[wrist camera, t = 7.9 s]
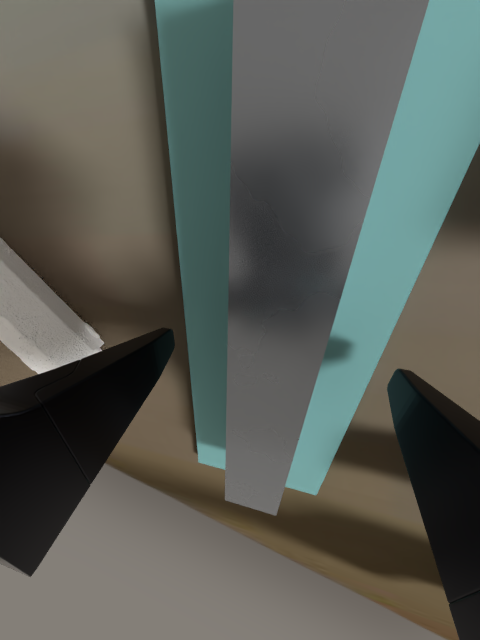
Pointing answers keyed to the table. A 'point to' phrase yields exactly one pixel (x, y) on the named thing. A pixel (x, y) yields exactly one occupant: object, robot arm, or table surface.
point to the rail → (299, 205)
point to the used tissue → (39, 319)
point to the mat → (377, 230)
